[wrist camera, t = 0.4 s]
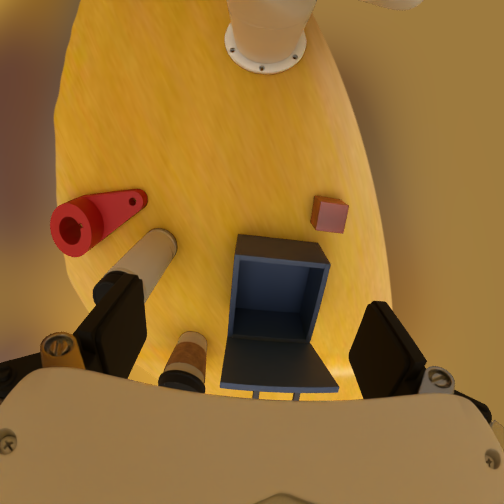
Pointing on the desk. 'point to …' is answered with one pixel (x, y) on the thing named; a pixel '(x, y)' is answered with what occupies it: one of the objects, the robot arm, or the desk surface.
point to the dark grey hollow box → (276, 289)
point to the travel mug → (141, 263)
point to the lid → (274, 368)
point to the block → (329, 214)
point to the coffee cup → (186, 364)
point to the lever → (93, 219)
